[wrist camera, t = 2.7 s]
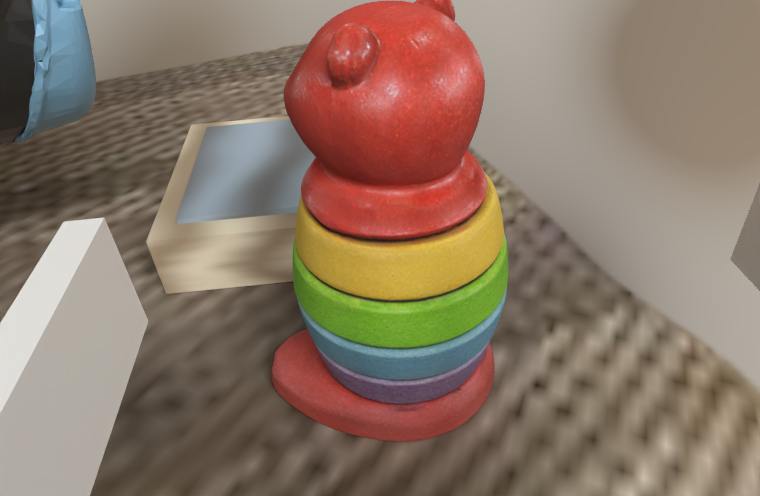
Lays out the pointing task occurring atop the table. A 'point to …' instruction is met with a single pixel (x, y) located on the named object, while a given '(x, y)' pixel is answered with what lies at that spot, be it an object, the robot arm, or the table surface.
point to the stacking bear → (392, 227)
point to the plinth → (231, 206)
